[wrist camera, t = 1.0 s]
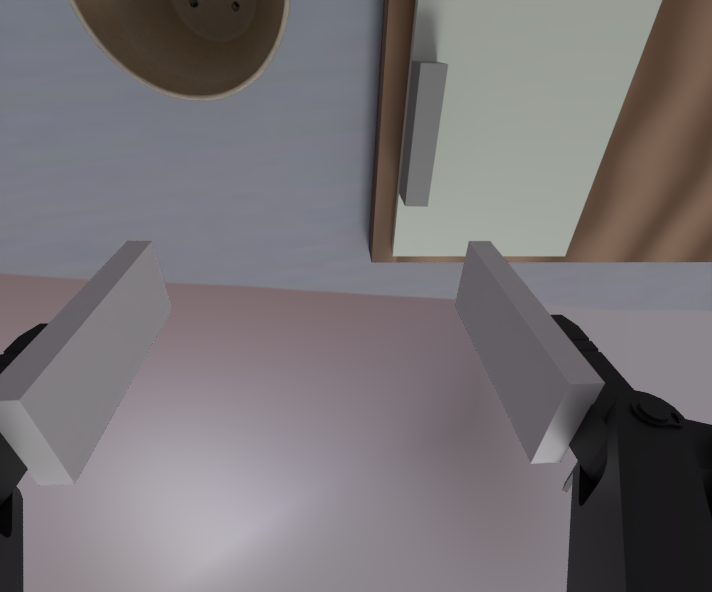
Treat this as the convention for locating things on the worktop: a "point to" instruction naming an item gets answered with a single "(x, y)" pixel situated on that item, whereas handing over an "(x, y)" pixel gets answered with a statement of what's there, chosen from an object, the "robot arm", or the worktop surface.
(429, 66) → the lid
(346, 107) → the worktop surface
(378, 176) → the wooden box
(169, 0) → the flower pot
